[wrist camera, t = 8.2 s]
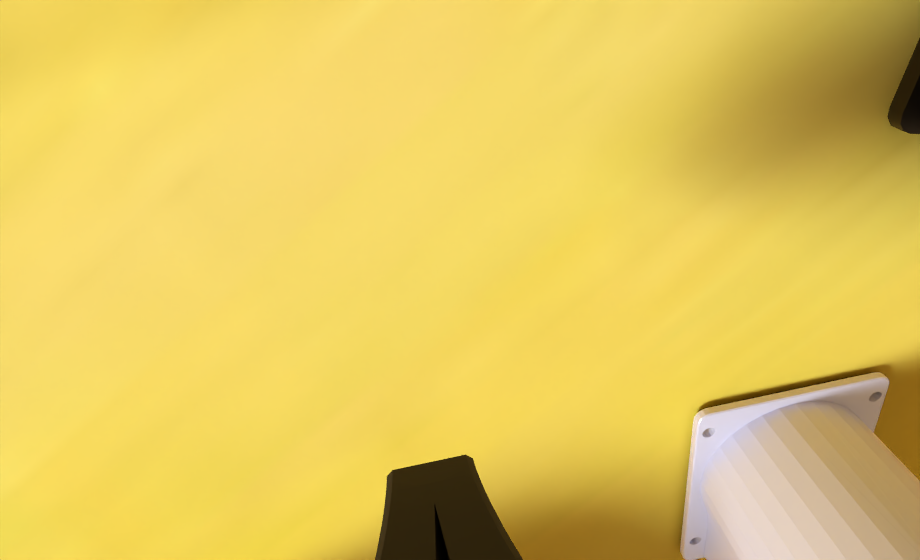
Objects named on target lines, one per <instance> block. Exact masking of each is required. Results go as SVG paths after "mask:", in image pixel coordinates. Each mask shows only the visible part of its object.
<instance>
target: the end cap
mask: <svg viewBox="0 0 920 560" xmlns="http://www.w3.org/2000/svg"><path fill="white" fill-rule="evenodd" d="M888 119H889V122H890V124H891V126H894V127H896V128H898V129H900V130H902V131H905V132H907V133H910V134H920V38H919V41H918V43H917V45H916V48H915V50H914V52H913V55H912V57H911V59H910V61H909V64H908V66H907V68H906V71H905V73H904V75H903V78H902V80H901V82H900V85H899V87H898V89H897V92H896V94H895V96H894V98H893V101H892V103H891V105H890V108H889V113H888Z"/></svg>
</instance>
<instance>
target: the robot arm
mask: <svg viewBox="0 0 920 560" xmlns="http://www.w3.org/2000/svg"><path fill="white" fill-rule="evenodd" d="M888 387H889V379H888V378H887V377H886V376H885V375H884V374H883V373H880V372H874V373H869V374H864V375H860V376H855V377H850V378H846V379H841V380H836V381H832V382H827V383H822V384H817V385H813V386H808V387H803V388H799V389H794V390H789V391H784V392H780V393H775V394H770V395H766V396H761V397H756V398H752V399H747V400H742V401H737V402H733V403H728V404H723V405H719V406H714V407H709V408H705V409H702V410H701V411H699V412H698V413H697V414H696V415H695V417H694V420H693V430H692V439H691V449H690V459H689V468H688V478H687V487H686V497H685V507H684V516H683V526H682V536H681V545H680V552H681V554H682V556H683V558H684V559H685V560H695V559H700V558H704V557H705V558H706V560H920V481H919V480H918V479H917V477H916V476H915V475H914V474H913V473H912V472H911V471H910V470H909V469H908V468H907V467H906V466H905V465H904V464H903V463H902V462H901V461H900V460H899V459H898V458H897V457H896V456H895V455H894V454H893V453H892V452H891V451H890V449H889V448H888V447H887V446H886V445H885V444H884V443H883V442H882V441H881V440H880V439H879V438H878V437H877V436H876V435H875V434H874V430H875V427H876V424H877V421H878V418H879V414H880V411H881V408H882V405H883V402H884V399H885V396H886V393H887V390H888ZM375 560H523V559H522V557H521V556H520V554H519V552H518V551H517V549H516V548H515V546H514V544H513V543H512V541H511V539H510V538H509V536H508V534H507V532H506V531H505V529H504V527H503V525H502V523H501V521H500V520H499V518H498V516H497V514H496V512H495V510H494V508H493V506H492V504H491V502H490V500H489V498H488V496H487V494H486V492H485V490H484V487H483V485H482V483H481V480H480V478H479V475H478V473H477V470H476V467H475V464H474V461H473V458H471V457H469V456H467V455H462V456H457V457H453V458H448V459H443V460H438V461H434V462H429V463H424V464H420V465H415V466H410V467H405V468H401V469H396V470H392V472H391V473H390V474H389V475H388V476H387V488H386V499H385V508H384V515H383V521H382V527H381V533H380V538H379V543H378V548H377V553H376V558H375Z"/></svg>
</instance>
